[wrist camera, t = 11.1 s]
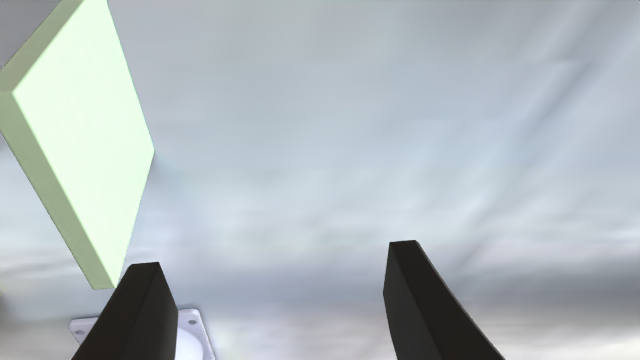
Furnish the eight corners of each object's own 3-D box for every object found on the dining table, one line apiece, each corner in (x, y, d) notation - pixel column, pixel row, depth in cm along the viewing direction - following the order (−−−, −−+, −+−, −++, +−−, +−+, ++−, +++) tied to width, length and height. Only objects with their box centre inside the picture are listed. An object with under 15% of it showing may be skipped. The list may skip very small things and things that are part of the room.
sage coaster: (155, 150, 21) (117, 288, 15) (137, 152, 21) (92, 290, 15) (100, -20, 16) (14, 91, 10) (76, -19, 16) (-24, 94, 10)
